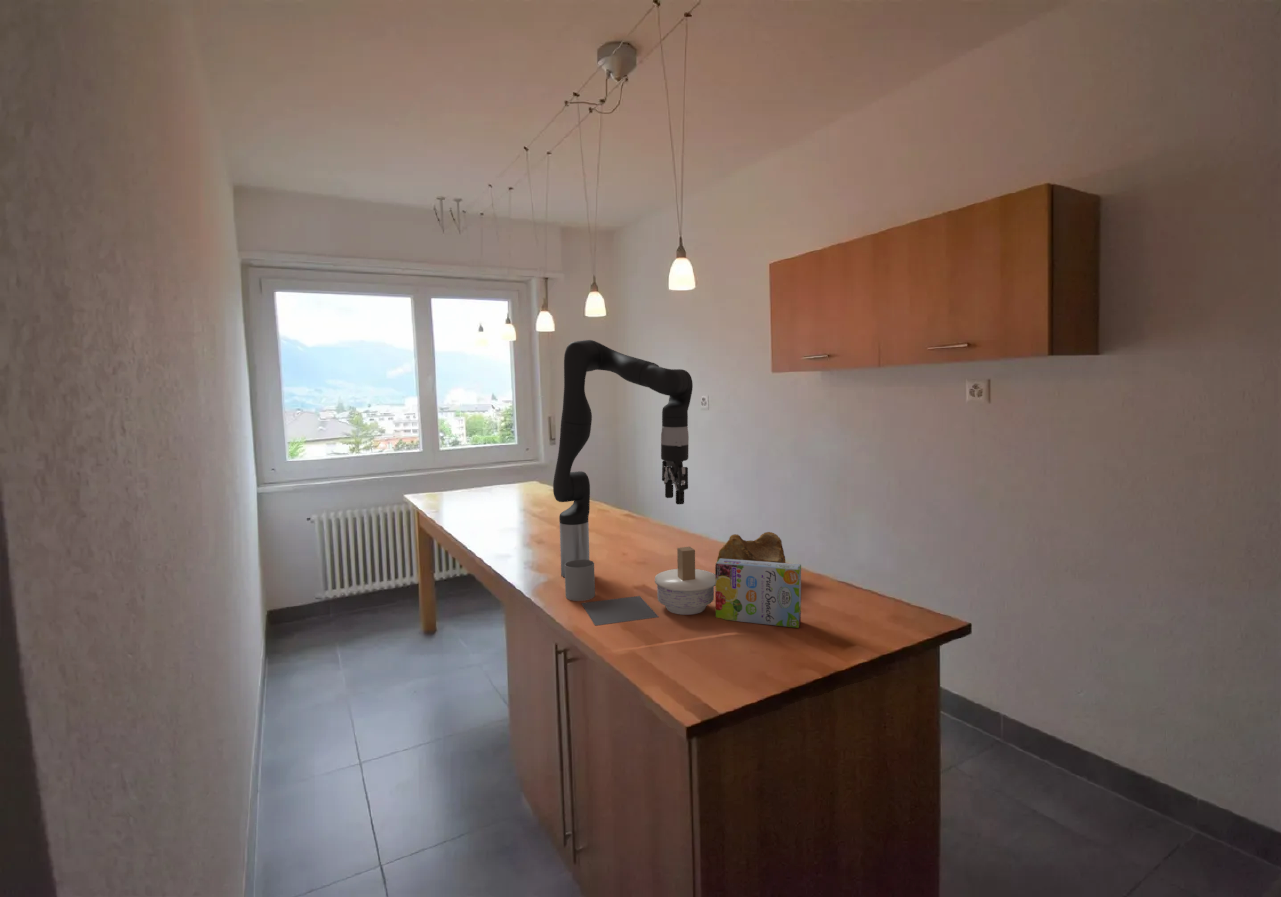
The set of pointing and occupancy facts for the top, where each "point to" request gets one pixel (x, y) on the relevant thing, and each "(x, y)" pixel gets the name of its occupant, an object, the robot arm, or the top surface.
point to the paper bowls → (685, 600)
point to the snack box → (758, 592)
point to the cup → (579, 580)
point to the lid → (685, 574)
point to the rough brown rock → (754, 549)
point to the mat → (618, 610)
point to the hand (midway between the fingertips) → (674, 500)
